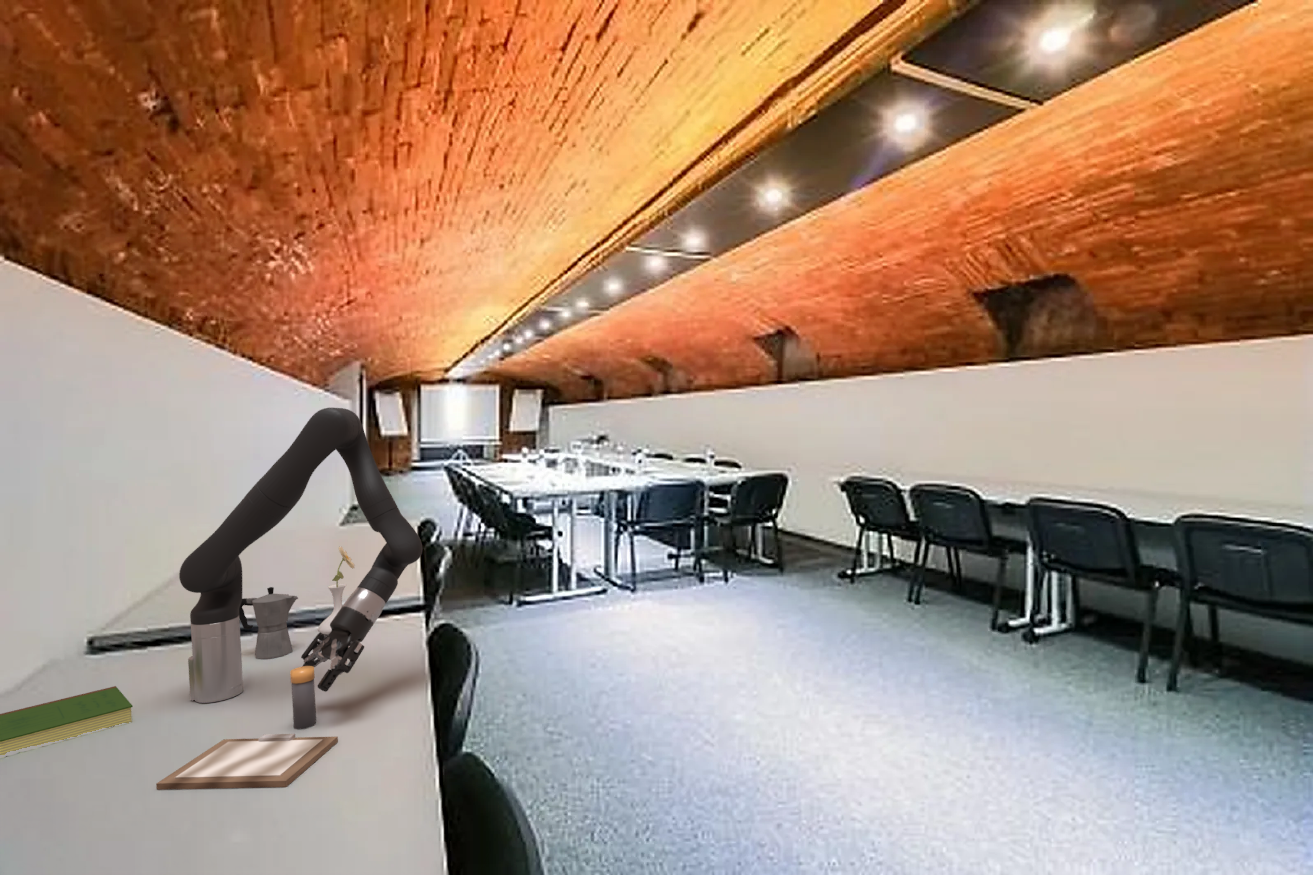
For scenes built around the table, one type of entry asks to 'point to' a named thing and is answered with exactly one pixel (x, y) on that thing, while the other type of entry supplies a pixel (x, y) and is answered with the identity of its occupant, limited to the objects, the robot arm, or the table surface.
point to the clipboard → (250, 763)
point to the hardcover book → (63, 719)
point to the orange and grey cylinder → (303, 697)
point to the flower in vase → (336, 594)
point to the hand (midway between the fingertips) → (309, 686)
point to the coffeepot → (270, 623)
